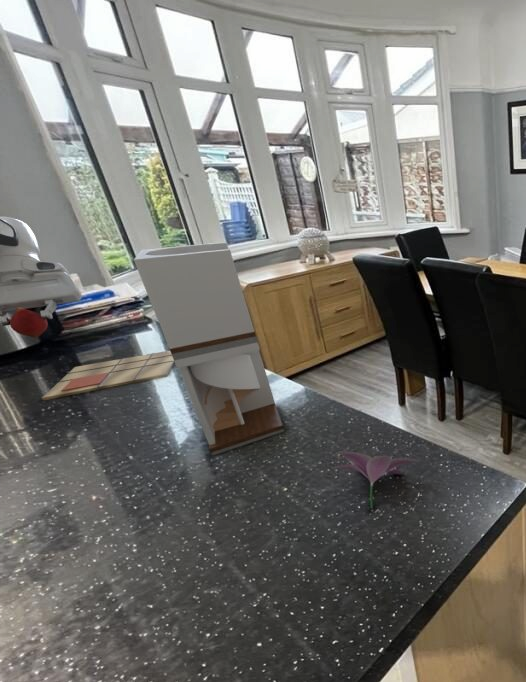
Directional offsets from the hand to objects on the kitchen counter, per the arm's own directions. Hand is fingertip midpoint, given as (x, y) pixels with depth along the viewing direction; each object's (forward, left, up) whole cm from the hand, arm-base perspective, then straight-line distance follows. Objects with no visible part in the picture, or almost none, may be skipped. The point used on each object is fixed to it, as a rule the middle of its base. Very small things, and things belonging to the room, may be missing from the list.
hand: (26, 321), depth 97 cm
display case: (+46, -57, -14) cm, 75 cm away
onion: (0, +1, -5) cm, 5 cm away
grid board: (+16, -11, -14) cm, 24 cm away
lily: (+65, -86, -14) cm, 109 cm away
